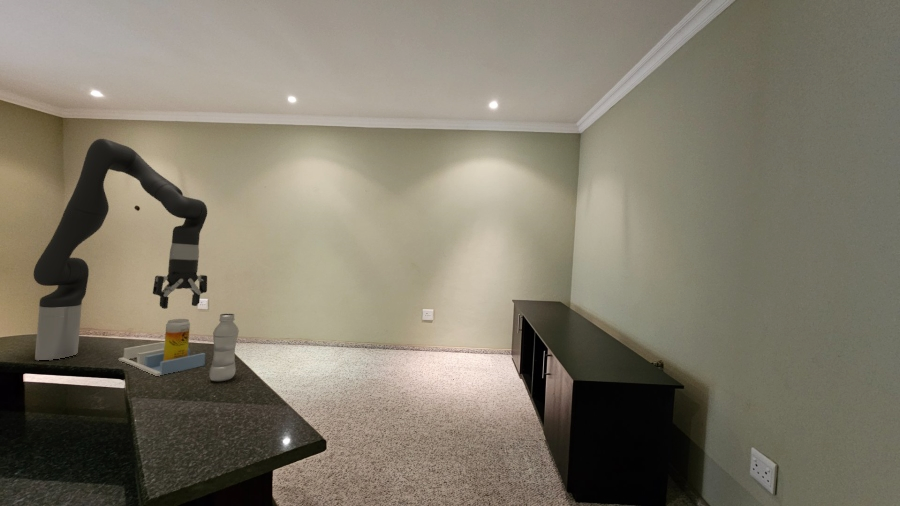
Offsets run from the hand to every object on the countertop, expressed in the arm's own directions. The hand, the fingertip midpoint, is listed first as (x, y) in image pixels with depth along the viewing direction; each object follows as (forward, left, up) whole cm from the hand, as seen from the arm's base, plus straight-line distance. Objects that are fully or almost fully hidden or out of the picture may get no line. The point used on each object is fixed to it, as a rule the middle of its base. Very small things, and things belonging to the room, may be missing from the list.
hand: (179, 306), depth 109 cm
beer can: (0, 0, -20) cm, 20 cm away
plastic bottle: (+22, +2, -20) cm, 30 cm away
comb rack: (-7, 0, -20) cm, 21 cm away
